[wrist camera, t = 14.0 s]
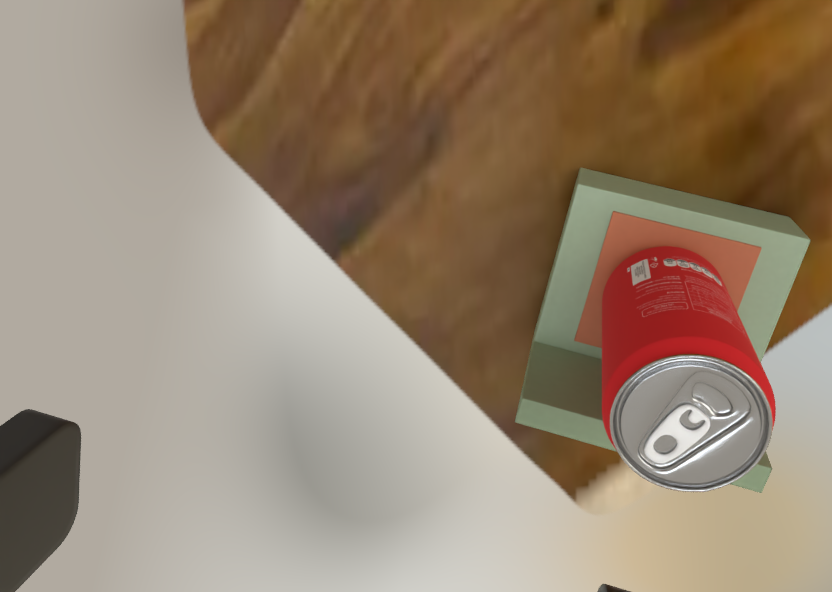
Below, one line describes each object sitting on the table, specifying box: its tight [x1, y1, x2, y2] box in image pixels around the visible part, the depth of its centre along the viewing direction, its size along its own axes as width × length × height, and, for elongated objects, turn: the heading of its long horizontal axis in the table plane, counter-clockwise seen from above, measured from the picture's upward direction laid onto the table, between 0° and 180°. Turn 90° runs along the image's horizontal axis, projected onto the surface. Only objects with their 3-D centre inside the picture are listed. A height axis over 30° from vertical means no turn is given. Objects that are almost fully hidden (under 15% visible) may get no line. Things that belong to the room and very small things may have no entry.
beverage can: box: [602, 246, 775, 492], centre depth 29 cm, size 5×5×12 cm
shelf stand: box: [515, 168, 810, 493], centre depth 34 cm, size 10×9×10 cm
